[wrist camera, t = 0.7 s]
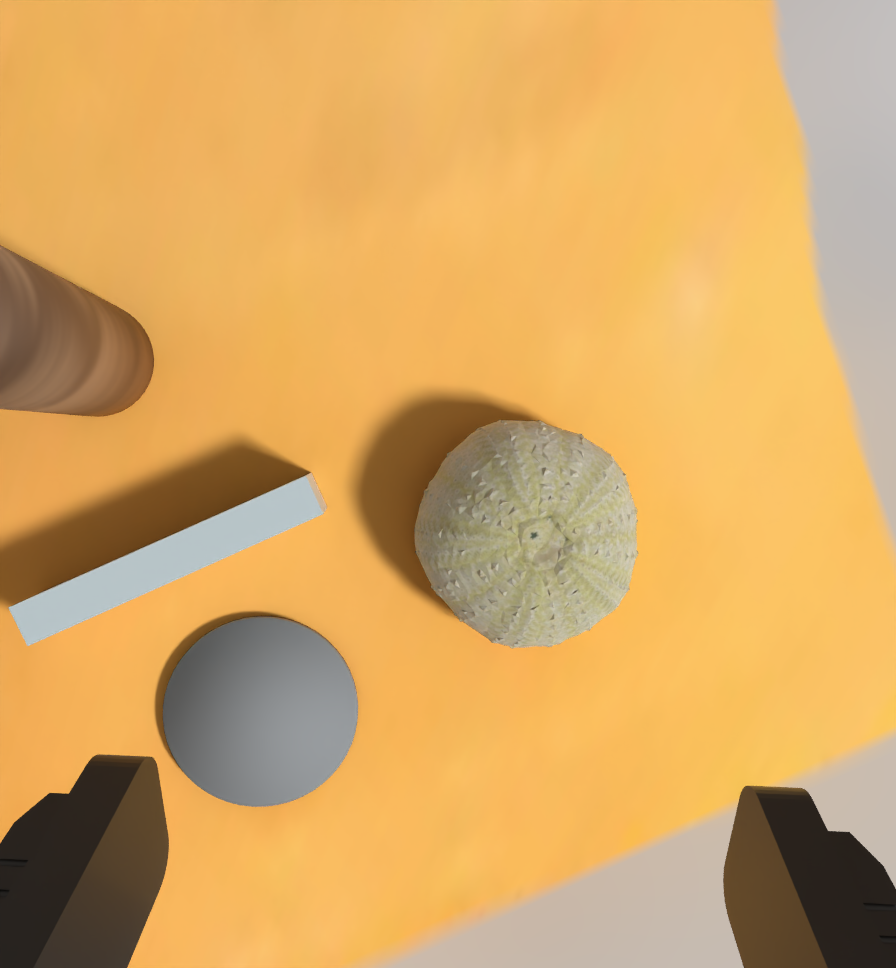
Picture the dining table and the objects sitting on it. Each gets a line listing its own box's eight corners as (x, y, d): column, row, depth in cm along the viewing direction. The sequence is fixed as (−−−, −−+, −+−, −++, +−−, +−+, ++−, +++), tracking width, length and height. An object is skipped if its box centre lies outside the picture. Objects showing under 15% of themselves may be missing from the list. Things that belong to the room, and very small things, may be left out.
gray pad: (132, 665, 34) (129, 668, 33) (310, 584, 34) (309, 586, 34) (215, 833, 35) (213, 838, 34) (388, 752, 35) (388, 756, 35)
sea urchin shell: (477, 700, 33) (435, 602, 27) (417, 556, 39) (371, 447, 32) (678, 612, 34) (681, 497, 28) (593, 482, 39) (580, 360, 33)
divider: (40, 592, 33) (8, 607, 30) (311, 472, 34) (305, 475, 31) (58, 627, 33) (27, 646, 30) (327, 507, 34) (323, 514, 31)
